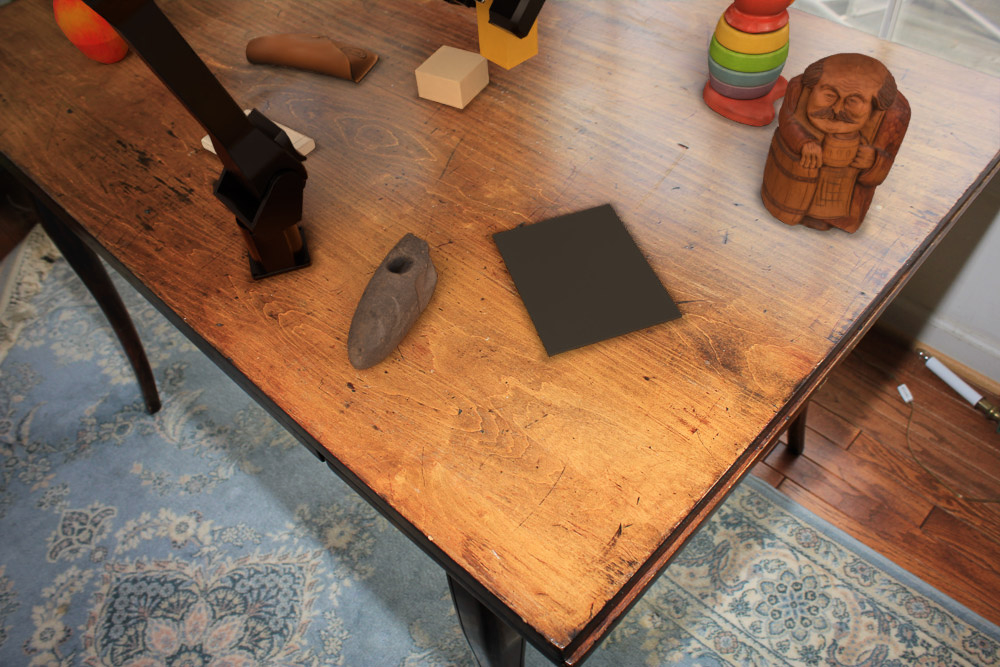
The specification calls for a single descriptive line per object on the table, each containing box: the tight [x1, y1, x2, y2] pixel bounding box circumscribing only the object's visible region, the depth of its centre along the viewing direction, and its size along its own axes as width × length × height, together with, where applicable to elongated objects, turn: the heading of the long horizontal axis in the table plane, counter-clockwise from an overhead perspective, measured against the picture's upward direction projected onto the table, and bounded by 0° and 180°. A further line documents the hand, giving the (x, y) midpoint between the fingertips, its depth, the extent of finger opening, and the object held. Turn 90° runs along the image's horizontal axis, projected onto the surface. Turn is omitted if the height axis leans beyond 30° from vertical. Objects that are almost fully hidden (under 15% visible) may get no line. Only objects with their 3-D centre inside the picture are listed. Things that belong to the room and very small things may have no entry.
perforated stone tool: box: [346, 232, 438, 371], centre depth 72 cm, size 15×5×7 cm, turn 155°
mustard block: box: [475, 0, 539, 71], centre depth 86 cm, size 5×5×10 cm
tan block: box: [414, 44, 490, 110], centre depth 100 cm, size 7×7×4 cm
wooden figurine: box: [760, 52, 912, 234], centre depth 75 cm, size 12×6×18 cm, turn 67°
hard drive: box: [200, 108, 316, 157], centre depth 95 cm, size 2×8×12 cm
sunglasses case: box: [245, 33, 380, 84], centre depth 107 cm, size 18×7×7 cm
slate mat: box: [492, 203, 683, 358], centre depth 78 cm, size 18×14×1 cm
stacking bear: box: [702, 0, 796, 127], centre depth 89 cm, size 11×10×18 cm
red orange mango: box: [52, 0, 130, 65], centre depth 108 cm, size 9×9×12 cm
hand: (516, 13), depth 87 cm, fingers closed on mustard block, 5 cm apart
